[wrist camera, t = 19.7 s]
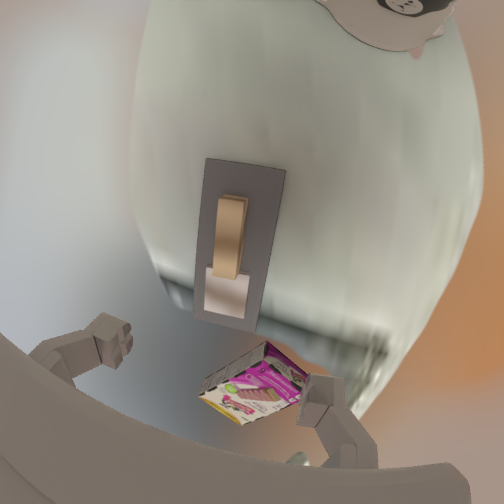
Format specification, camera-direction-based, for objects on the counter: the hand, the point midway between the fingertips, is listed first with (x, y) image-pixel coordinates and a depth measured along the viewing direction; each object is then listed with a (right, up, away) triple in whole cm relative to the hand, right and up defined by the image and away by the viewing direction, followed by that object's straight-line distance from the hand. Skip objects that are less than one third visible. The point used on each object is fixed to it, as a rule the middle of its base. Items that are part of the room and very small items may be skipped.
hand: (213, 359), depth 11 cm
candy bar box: (+8, -13, +29) cm, 33 cm away
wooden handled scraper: (-1, +4, +26) cm, 27 cm away
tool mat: (-1, +4, +27) cm, 27 cm away
